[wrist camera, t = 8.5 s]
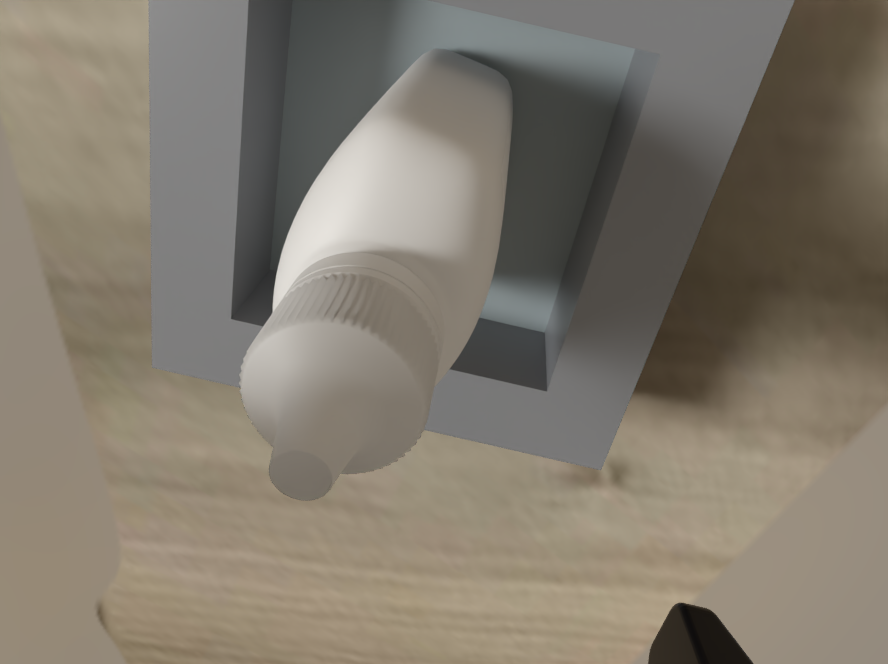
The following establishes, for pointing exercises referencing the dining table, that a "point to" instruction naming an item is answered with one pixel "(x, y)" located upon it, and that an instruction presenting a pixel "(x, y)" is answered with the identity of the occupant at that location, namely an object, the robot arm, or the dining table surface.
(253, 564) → the dining table surface
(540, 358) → the holder block
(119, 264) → the dining table surface
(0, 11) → the dining table surface
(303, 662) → the dining table surface
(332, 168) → the eye dropper bottle
